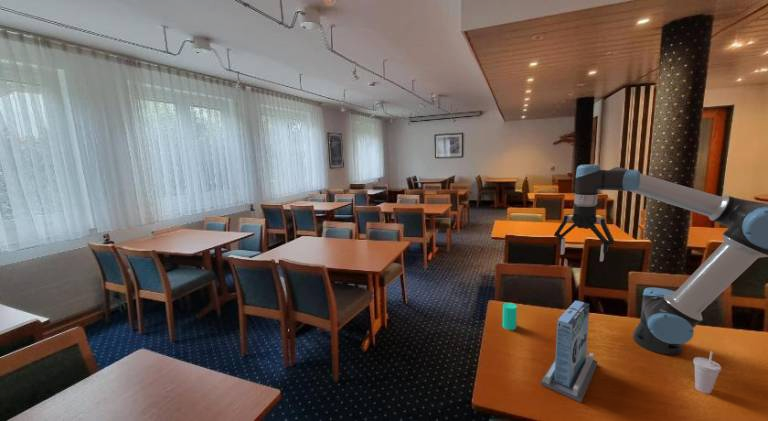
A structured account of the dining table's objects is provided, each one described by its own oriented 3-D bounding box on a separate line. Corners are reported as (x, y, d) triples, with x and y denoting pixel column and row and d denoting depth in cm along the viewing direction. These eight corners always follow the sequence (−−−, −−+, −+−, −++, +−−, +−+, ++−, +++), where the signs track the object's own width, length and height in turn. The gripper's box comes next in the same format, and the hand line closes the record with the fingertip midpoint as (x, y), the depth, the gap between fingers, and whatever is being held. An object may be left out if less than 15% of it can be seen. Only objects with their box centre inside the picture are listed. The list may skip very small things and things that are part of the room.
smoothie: (720, 399, 99) (727, 359, 97) (692, 392, 103) (698, 353, 100) (713, 386, 105) (719, 348, 102) (687, 379, 108) (692, 343, 105)
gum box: (569, 388, 104) (573, 325, 100) (552, 381, 108) (556, 319, 104) (586, 360, 117) (591, 304, 113) (571, 355, 121) (575, 299, 117)
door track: (597, 364, 117) (598, 355, 116) (581, 402, 100) (582, 391, 100) (561, 351, 125) (562, 342, 125) (541, 384, 108) (541, 374, 108)
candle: (517, 330, 141) (518, 305, 139) (503, 329, 142) (504, 305, 140) (514, 323, 147) (515, 299, 145) (501, 322, 148) (502, 299, 146)
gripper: (547, 203, 128) (544, 253, 132) (623, 209, 111) (618, 266, 115) (553, 201, 133) (550, 249, 137) (626, 206, 116) (621, 260, 120)
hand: (581, 257), depth 126 cm, fingers open, 13 cm apart
